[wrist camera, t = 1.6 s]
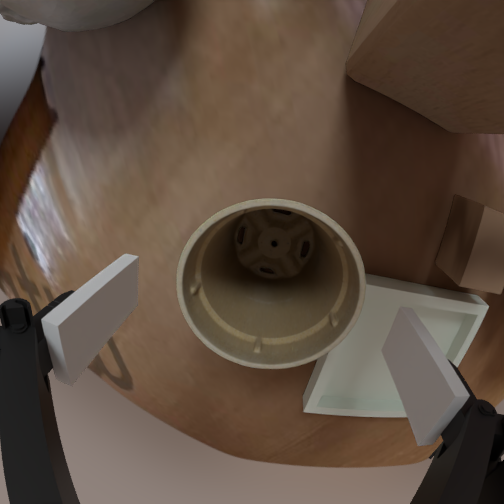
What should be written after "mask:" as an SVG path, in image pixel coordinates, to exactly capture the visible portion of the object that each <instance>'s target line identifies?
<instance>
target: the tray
mask: <svg viewBox="0 0 504 504" xmlns="http://www.w3.org/2000/svg"><path fill="white" fill-rule="evenodd" d="M365 278H366V292H365V300H364V303H363V307H362V311H361V313H360V316H359V318H358V320H357V322H356V324H355V326H354V327H353V328H352V330H351V331H350V332H349V333H348V335H347V336H346V338H345V339H344V340H343V341H342V342H341V343H340V344H338V345H337V346H336V347H335V348H334V349H332V350H331V351H329V352H328V353H326V354H325V355H323V356H321V357H320V358H318V359H317V362H316V365H315V367H314V370H313V372H312V375H311V377H310V380H309V382H308V385H307V387H306V390H305V392H304V394H303V412H307V413H317V414H328V415H341V416H359V417H407V414H406V411H405V409H404V406H403V404H402V401H401V398H400V396H399V393H398V391H397V388H396V386H395V383H394V381H393V378H392V376H391V373H390V371H389V368H388V366H387V364H386V361H385V359H384V356H383V354H382V352H381V349H382V347H383V345H384V343H385V340H386V338H387V336H388V334H389V331H390V329H391V327H392V324H393V322H394V319H395V317H396V315H397V312H398V310H399V307H400V306H401V307H407V308H412V309H413V310H414V312H415V313H416V314H417V316H418V317H419V319H420V320H421V321H422V323H423V324H424V326H425V327H426V329H427V330H428V331H429V333H430V334H431V336H432V337H433V339H434V340H435V342H436V343H437V345H438V346H439V348H440V349H441V351H442V352H443V354H444V355H445V357H446V358H447V359H449V360H450V361H451V362H452V363H453V364H454V365H455V366H456V367H458V365H459V364H460V362H461V360H462V359H463V357H464V355H465V353H466V352H467V350H468V348H469V346H470V344H471V342H472V341H473V339H474V337H475V335H476V333H477V331H478V329H479V327H480V325H481V323H482V321H483V319H484V317H485V314H486V312H487V310H488V308H489V306H488V305H487V304H486V303H485V302H484V301H483V300H482V299H481V298H480V297H479V296H478V295H473V294H468V293H463V292H458V291H453V290H448V289H443V288H438V287H433V286H428V285H423V284H417V283H412V282H407V281H402V280H397V279H392V278H387V277H382V276H377V275H372V274H366V273H365Z"/></svg>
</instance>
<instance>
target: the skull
mask: <svg viewBox="0 0 504 504" xmlns="http://www.w3.org/2000/svg"><path fill="white" fill-rule="evenodd" d="M153 2H154V0H0V14H1V15H2V16H3V18H4V19H5V20H8V21H12V22H16V23H19V24H24V25H25V24H30V25H32V24H37V23H40V24H42V25H46V26H49V27H52V28H55V29H58V30H61V31H66V32H77V31H87V30H93V29H100V28H105V27H108V26H111V25H114V24H117V23H120V22H122V21H125V20H128V19H130V18H131V17H133V16H134V15H136V14H137V13H139V12H140V11H141V10H143V9H144V8H146V7H148V6H149V5H151V4H152V3H153Z"/></svg>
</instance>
